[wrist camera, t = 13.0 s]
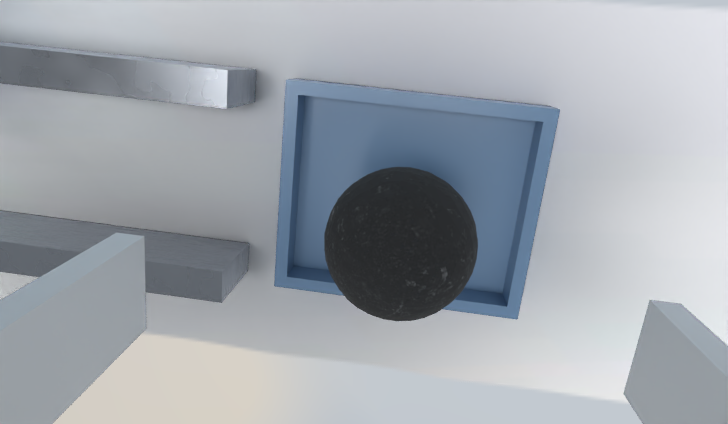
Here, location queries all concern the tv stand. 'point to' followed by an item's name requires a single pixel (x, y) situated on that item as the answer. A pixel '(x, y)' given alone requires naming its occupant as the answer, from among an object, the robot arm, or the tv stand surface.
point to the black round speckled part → (400, 243)
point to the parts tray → (422, 151)
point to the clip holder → (162, 250)
